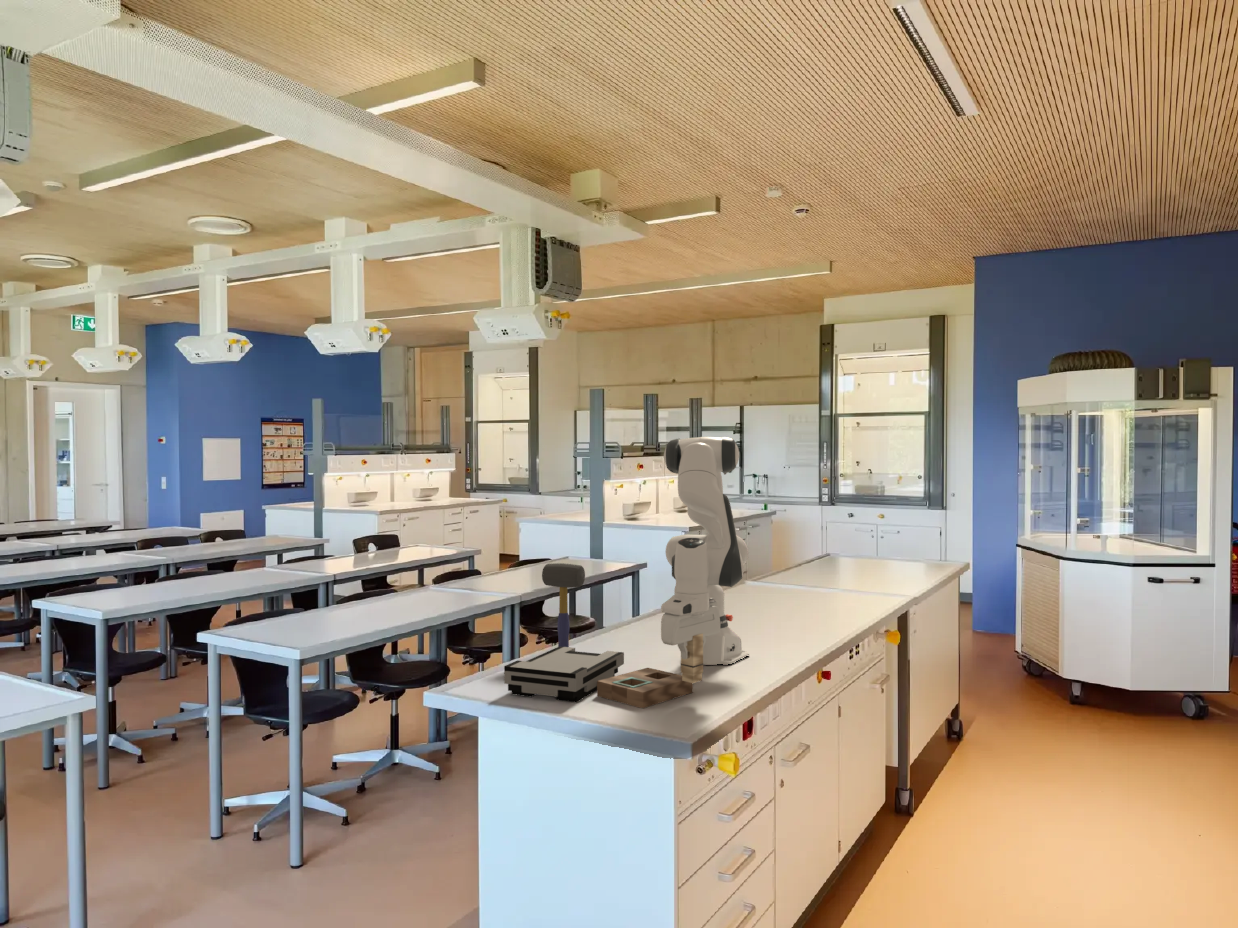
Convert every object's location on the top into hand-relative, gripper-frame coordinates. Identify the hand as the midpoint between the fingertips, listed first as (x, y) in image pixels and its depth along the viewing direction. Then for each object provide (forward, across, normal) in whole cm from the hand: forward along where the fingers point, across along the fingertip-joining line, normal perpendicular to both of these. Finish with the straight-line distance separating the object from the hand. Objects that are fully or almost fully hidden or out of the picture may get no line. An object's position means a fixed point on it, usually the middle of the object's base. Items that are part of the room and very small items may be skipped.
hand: (691, 656), depth 213 cm
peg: (+6, 0, 0) cm, 6 cm away
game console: (+12, +11, -35) cm, 39 cm away
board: (+12, +3, -14) cm, 18 cm away
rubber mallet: (+13, -9, -59) cm, 61 cm away
